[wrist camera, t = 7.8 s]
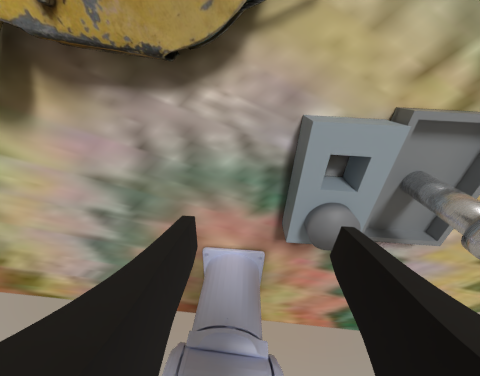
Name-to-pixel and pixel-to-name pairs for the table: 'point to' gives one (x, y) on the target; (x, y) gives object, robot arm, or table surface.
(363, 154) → the block
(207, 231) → the table surface
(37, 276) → the table surface
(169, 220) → the table surface
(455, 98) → the table surface
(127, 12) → the pulley block
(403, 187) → the lock pin
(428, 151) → the tray
